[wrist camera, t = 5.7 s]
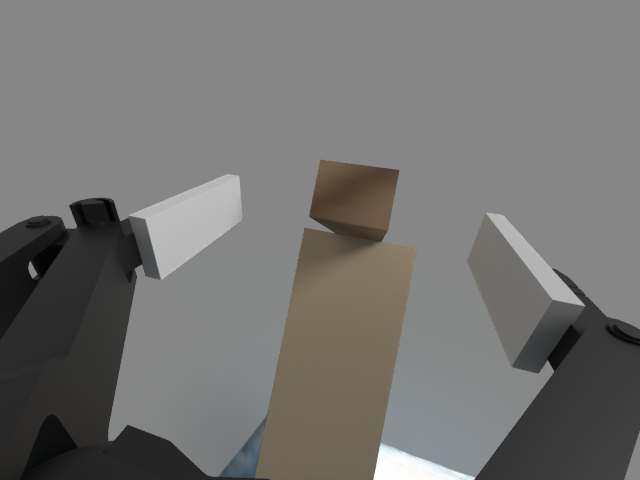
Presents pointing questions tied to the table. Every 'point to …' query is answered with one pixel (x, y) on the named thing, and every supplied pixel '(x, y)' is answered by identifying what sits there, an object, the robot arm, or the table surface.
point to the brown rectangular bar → (354, 199)
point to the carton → (336, 359)
